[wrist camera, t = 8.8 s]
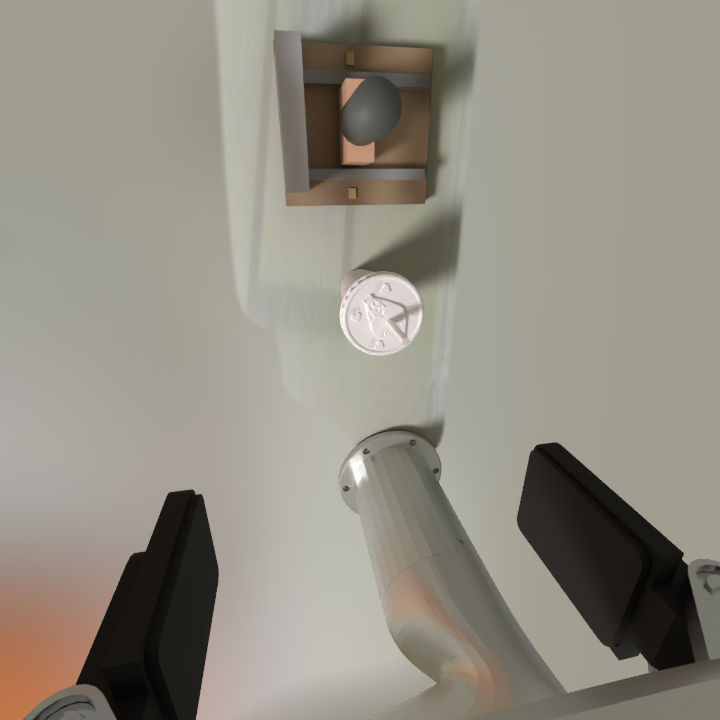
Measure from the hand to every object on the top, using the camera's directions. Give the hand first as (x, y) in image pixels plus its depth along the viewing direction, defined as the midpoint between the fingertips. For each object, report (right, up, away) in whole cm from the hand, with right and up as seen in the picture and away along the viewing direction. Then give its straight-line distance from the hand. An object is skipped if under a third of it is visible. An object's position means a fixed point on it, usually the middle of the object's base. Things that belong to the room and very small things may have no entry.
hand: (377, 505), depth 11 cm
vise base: (-1, +23, +21) cm, 31 cm away
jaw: (-1, +22, +19) cm, 30 cm away
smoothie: (-1, +11, +27) cm, 29 cm away
